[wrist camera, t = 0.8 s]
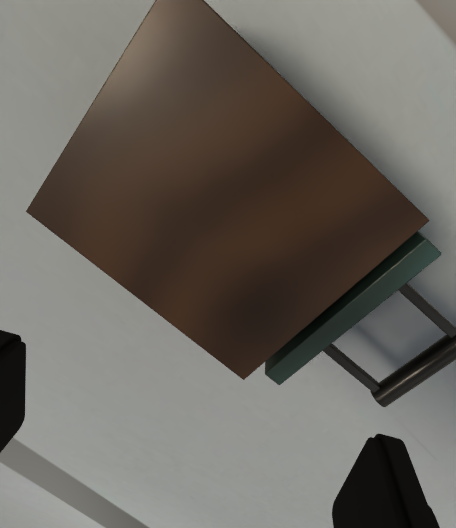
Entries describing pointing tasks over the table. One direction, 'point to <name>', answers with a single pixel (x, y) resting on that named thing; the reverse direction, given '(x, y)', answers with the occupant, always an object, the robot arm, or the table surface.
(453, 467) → the table surface
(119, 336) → the table surface
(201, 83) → the cabinet
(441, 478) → the table surface
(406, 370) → the drawer
